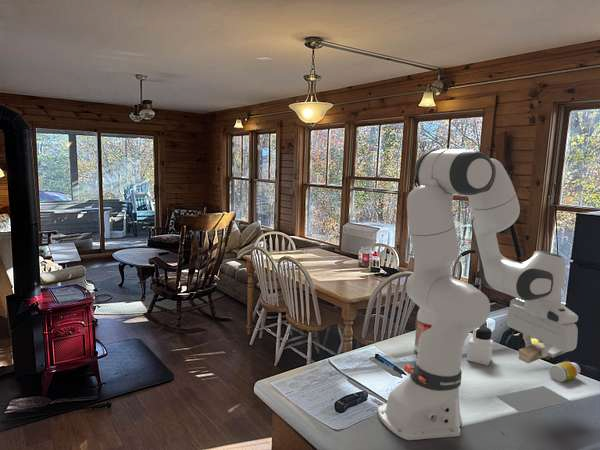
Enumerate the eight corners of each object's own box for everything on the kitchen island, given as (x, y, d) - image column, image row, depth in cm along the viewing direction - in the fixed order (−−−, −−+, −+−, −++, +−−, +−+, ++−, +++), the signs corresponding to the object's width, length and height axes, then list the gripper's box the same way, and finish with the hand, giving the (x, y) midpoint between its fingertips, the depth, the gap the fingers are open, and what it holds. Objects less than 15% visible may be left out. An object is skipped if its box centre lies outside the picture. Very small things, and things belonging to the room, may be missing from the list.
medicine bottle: (491, 358, 150) (494, 327, 148) (488, 366, 144) (492, 333, 142) (470, 353, 154) (473, 322, 152) (466, 360, 148) (470, 328, 146)
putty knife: (532, 366, 117) (532, 356, 116) (514, 356, 122) (514, 347, 121) (569, 350, 122) (569, 341, 121) (550, 342, 127) (550, 333, 127)
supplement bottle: (567, 380, 131) (585, 375, 136) (559, 363, 134) (577, 358, 138) (553, 383, 136) (571, 378, 140) (545, 367, 138) (563, 362, 142)
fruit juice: (426, 344, 160) (432, 273, 156) (446, 353, 152) (453, 279, 148) (408, 348, 155) (415, 276, 151) (428, 359, 147) (435, 282, 143)
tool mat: (521, 415, 115) (521, 413, 115) (495, 398, 123) (495, 396, 123) (570, 403, 122) (571, 401, 122) (543, 387, 131) (543, 385, 131)
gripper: (504, 296, 127) (498, 339, 129) (568, 320, 108) (561, 370, 110) (519, 295, 130) (513, 337, 131) (584, 318, 111) (577, 367, 113)
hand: (535, 352), depth 121 cm, fingers closed on putty knife, 3 cm apart
